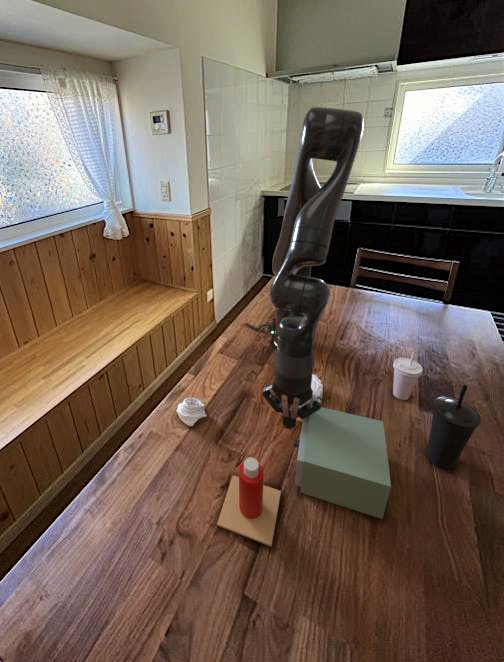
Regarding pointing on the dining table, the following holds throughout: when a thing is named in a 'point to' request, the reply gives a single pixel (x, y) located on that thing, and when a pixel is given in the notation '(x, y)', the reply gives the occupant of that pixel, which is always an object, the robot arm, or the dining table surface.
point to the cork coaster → (250, 528)
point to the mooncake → (315, 388)
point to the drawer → (301, 451)
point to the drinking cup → (451, 429)
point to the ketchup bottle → (251, 488)
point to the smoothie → (405, 376)
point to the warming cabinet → (347, 461)
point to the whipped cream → (191, 411)
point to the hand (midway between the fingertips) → (289, 426)
